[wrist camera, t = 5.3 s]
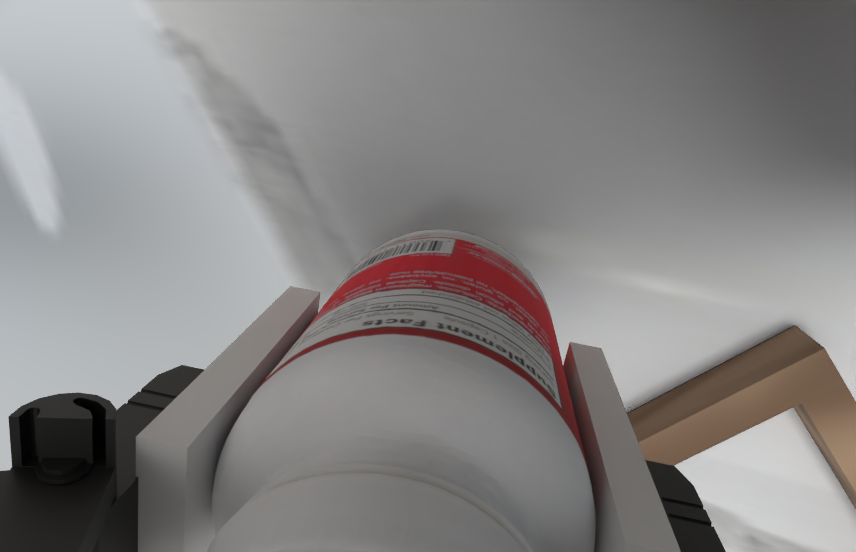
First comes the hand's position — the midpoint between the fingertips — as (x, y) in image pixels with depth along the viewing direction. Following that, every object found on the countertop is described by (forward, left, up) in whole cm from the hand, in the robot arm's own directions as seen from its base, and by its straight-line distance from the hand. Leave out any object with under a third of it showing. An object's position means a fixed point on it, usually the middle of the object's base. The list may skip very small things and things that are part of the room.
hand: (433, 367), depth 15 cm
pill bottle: (0, 0, -3) cm, 3 cm away
